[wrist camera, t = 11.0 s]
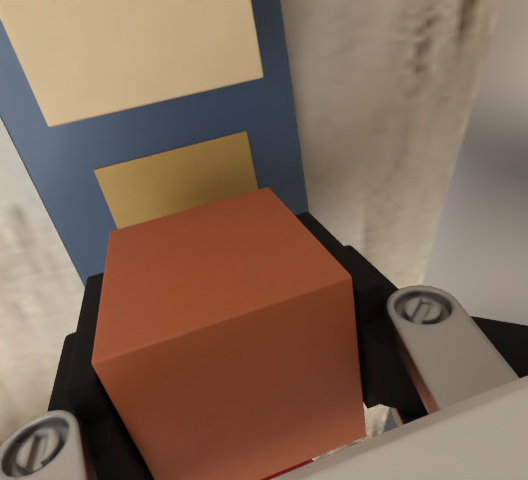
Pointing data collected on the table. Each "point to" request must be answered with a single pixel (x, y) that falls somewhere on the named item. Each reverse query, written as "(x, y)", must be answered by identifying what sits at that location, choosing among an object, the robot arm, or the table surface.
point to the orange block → (228, 341)
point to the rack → (146, 110)
